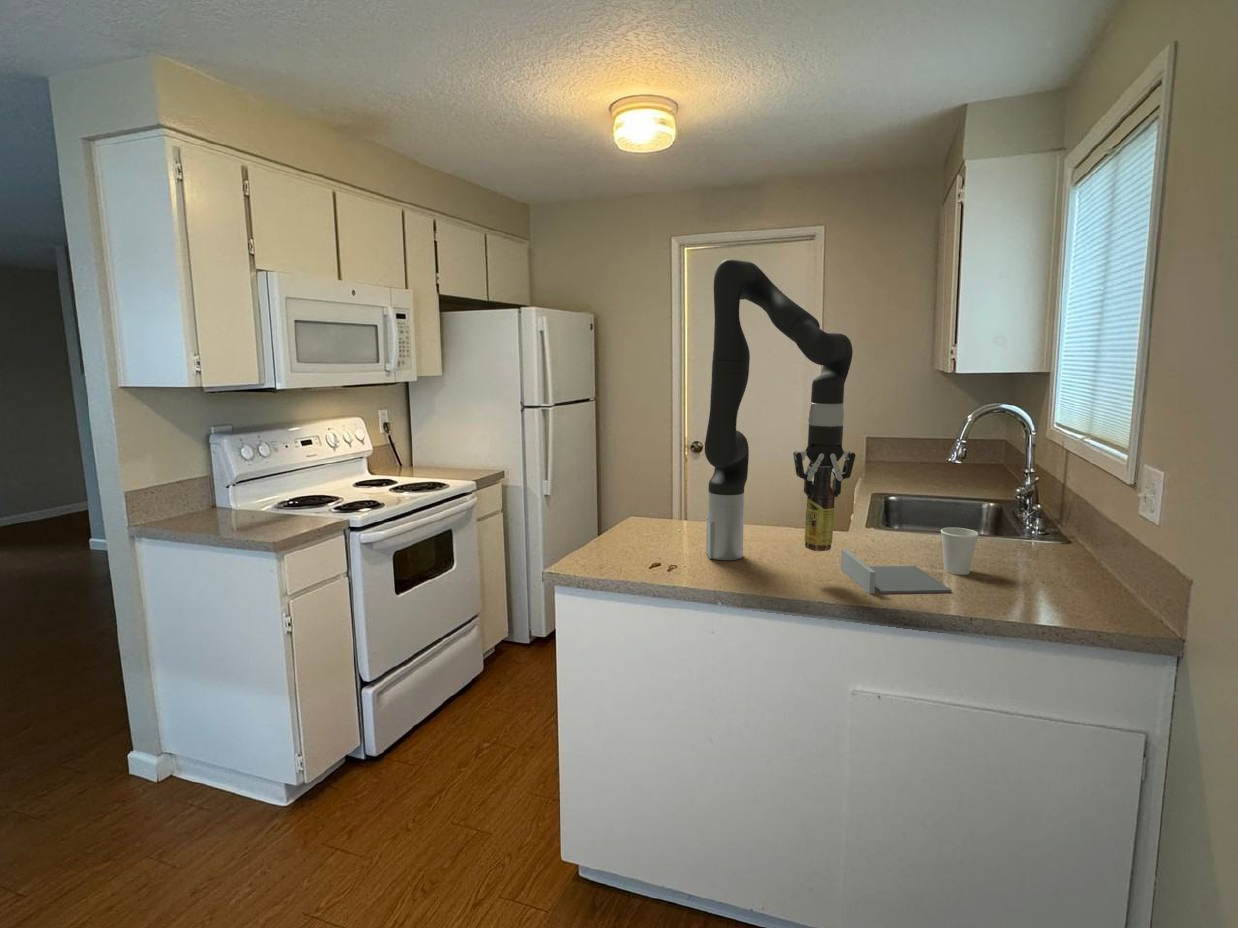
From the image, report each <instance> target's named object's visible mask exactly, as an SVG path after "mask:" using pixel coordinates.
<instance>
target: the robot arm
mask: <svg viewBox="0 0 1238 928" xmlns="http://www.w3.org/2000/svg"><path fill="white" fill-rule="evenodd" d="M716 267H717V268H716V270H715V272H714V276H713V306H714V308H713V309H714V311H713V312H714V326H713V327H714V330H713V331H714V333H713V336H714V337H713V351H712V361H711V384H710V403H709V405H710V406H709V417H708V422H707V423H708V424H707V429H706V435H705V442H704V455H705V458H706V460H707V462H708V463H709V464H710V465H712V467H714V469H713V470H714V471H713V474H712V476H711V478H710V479H709V481H708V497H707V500H708V501H707V502H708V503H707V504H708V507H707V518H706V521H705V522H706V523H705V524H706V525H705V526H706V527H705V529H706V531H705V532H706V534H705V538H706V539H705V553H706V555H707V557H708V558H709V559H710V560H719V561H736V560H739V559H742V558H743V556H744V516H745V515H744V513H745V512H744V510H745V508H744V507H745V485H746V483H747V480H748V473H749V471H748V470H749V459H750V458H749V457H750V451H749V450H750V449H749V448H750V447H749V442H748V439H747V438H746V436H745V435H744V434H743V433H742V432H741V431H739V430H737V421H738V420H737V418H738V413H739V409H740V405H741V402H742V400H743V397H744V395H745V392H746V390H747V389H746V388H747V385H748V381H749V375H750V360H751V358H750V357H751V355H750V354H751V352H750V347H749V345H748V342H747V338H746V336H745V333H744V331H743V328H742V325H741V319H740V306H741V305H740V304H741V300H743V301H744V300H746V301H749V302H751V303H754V304H755V305H756V306H758V307H760V308H761V309H762V310H763V311H764V312H765V313H766V314H767V316H768V318H769V319H770V321H771V323H772V324H773V325H774V327H776V329H778V331H780V333H782V334H783V335H785V336H786V337H787V338H788V339H790V340H791V341H793V342H794V343H795V344H796V347H797V348H798V349H799V350H800V351H801V352H802V354H803V355H804V356H805V357H806V358H807V359H808V360H809V361H811V362H812V363H814V364H816V365H818V366H822V370H821V373H820V375H818V376H817V377H815V378H813V380H812V383H811V392H810V394H811V397H810V398H811V399H810V408H809V414H808V420H807V421H808V431H807V432H808V433H807V447H806V449H804V450H802V451H797V450H795V451H794V452H793V453H792V455H793V461H794V462H793V463H794V469H795V474H796V477H799V478H800V479H803V481H804V483H803V493H804V494H805V495H806V497H810V496H811V494H812V485H813V481H814V480H813V479H814V474H815V473H816V472H817V470H818V466H832V472H831V475H832V476H833V478H834V479H832V483H831V484H832V486H831V488H832V490H833V492H834V495H835V498H838V497H839V495H841V491H842V490H841V489H842V481H843V480H845V479H850V478H851V474H852V472H853V467H854V463H855V460H856V453H855V452H852V451H850V450H849V451H846V450H844V449H843V437H844V435H843V434H844V419H845V418H844V416H845V415H844V414H845V411H844V410H845V409H844V398H845V382H846V380H847V378H848V375H849V372H850V367H851V363H852V360H853V351H854V349H853V345H852V342H851V340H850V338H849V337H848V336H847V335H845V334H843V333H838V332H837V333H835V332H834V333H833V332H832V333H831V332H829V333H828V332H825V331H824V330H822V329H821V327H820V323H819V321H818V319H817V318H816V317H815V316H813V315H812V314H811V313H810V312H809V311H807V310H806V309H804V308H802V307H801V306H800V305H799V304H797V303H796V302H794V301H793V300H792V299H790V298H789V297H788V296H787V295H786V294H785V293H783V292H782V290H780V288H778V286H776V285H775V284H774V283H773V282H772V280H771V279H770V278H769V277H768V276H767V275H766V273H764V271H763V270H762V269H761V268H760V267H759V266H758V265H756V264H755V263H753V262H751V261H746V260H738V259H730V258H728V259H725V260H723V261H721V262H720V263H719V264H718V266H716ZM806 456H807V458H808V459H809V463H808V465H807V468H806V471H805V469H804V464H803V463H804V462H803V461H805V458H806ZM842 457H843V460H844V463H843V466H842V471H841V468H840V466H839V463H838V462H839V460H840V459H841V458H842ZM812 480H813V481H812Z"/></svg>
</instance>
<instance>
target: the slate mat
mask: <svg viewBox="0 0 1238 928" xmlns="http://www.w3.org/2000/svg"><path fill="white" fill-rule="evenodd" d="M869 567H870V568H871V569H872V570H874V571H875V572H876V576H875V591H877V592H878V593H879V594H883V595H884V594H886V595H887V594H889V595H890V594H937V593H940V594H942V593H948V594H949V593H952V589H951V588H949V587H948V586H946V585H945V584H943V583H942V582H941V581H939V580H937V579H935V578H934V577H933V576H931V575H930V574H928V573H927V572H925V571H924V570H923V569H921V568H919V567H917V566H916V565H886V566H885V565H884V566H880V565H877V566H876V565H875V566H873V565H871V566H869Z"/></svg>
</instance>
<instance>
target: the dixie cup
mask: <svg viewBox="0 0 1238 928" xmlns="http://www.w3.org/2000/svg"><path fill="white" fill-rule="evenodd" d="M940 533H941V543H942V545H941V546H942V547H941V548H942V560H943V571H944V572H945V573H948V574H951V575H957V576H964V575H969V574H970V572H971V568H972V563H973V559H974V554H975V550H976V545H977V540H978V537H979V532H978V531H976V530H973V529H969V528H963V527H943V528H942V529H941V530H940Z"/></svg>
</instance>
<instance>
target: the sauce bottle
mask: <svg viewBox="0 0 1238 928" xmlns="http://www.w3.org/2000/svg"><path fill="white" fill-rule="evenodd" d="M831 478H832V466H818V470H817V472H816V473H815V474H814V476H813V485H812V494H811V496H810V497H808V496H806V508H805V509H806V510H805V521H804V523H805V524H804V525H805V526H804V527H805V528H804V547H805V548H806V549H807V550H810V551H814V552H828V551H830V550H831V549H832V544H833V535H834V521H835V520H834V519H835V508H836V507H835V499H836V497H835V495H834V492H833V490H832V486H831V484H832V481H831V480H832V479H831Z"/></svg>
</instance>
